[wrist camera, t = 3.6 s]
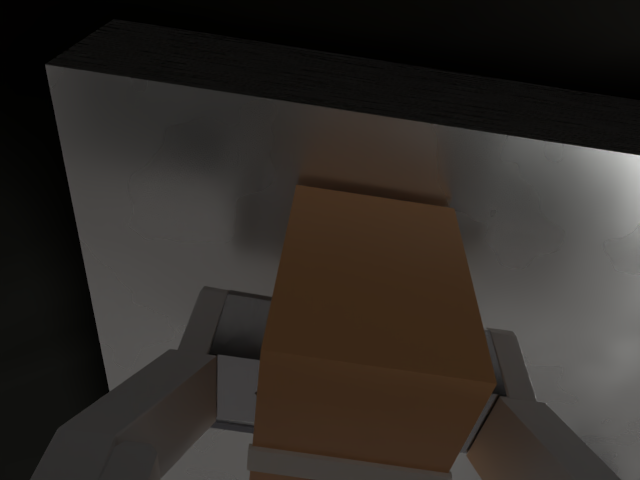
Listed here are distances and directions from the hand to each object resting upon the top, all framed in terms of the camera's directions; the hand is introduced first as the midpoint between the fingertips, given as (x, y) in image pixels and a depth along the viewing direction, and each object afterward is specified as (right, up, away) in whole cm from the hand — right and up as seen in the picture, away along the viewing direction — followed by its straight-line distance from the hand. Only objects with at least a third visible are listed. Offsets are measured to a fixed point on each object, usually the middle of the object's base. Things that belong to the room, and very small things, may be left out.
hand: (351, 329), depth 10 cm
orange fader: (0, +1, +1) cm, 1 cm away
